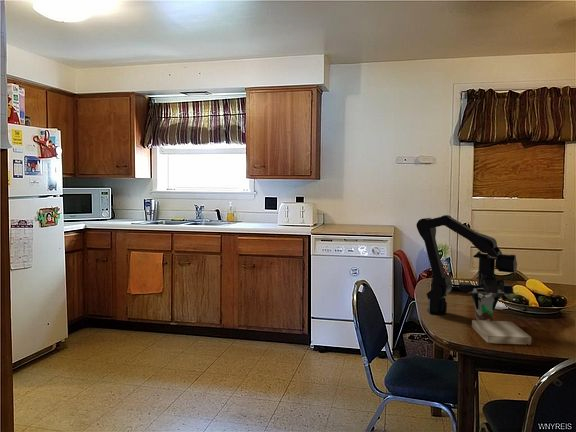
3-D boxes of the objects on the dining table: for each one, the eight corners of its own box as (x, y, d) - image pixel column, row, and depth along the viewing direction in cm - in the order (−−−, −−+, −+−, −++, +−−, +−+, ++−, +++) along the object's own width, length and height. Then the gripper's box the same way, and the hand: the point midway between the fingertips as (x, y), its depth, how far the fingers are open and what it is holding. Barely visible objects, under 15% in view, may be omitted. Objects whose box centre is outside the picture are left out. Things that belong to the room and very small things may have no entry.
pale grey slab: (487, 344, 159) (487, 335, 159) (471, 328, 177) (472, 320, 177) (531, 346, 158) (531, 337, 157) (510, 329, 176) (511, 321, 175)
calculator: (473, 301, 217) (473, 296, 217) (521, 304, 211) (521, 300, 211) (475, 308, 205) (475, 304, 204) (526, 312, 198) (527, 308, 198)
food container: (500, 324, 177) (498, 297, 177) (483, 325, 178) (481, 299, 178) (490, 315, 190) (488, 290, 189) (474, 316, 190) (472, 291, 190)
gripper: (467, 273, 175) (465, 314, 177) (519, 274, 174) (517, 316, 175) (459, 267, 187) (457, 306, 188) (508, 269, 185) (506, 308, 186)
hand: (484, 309), depth 184 cm, fingers closed on food container, 6 cm apart
